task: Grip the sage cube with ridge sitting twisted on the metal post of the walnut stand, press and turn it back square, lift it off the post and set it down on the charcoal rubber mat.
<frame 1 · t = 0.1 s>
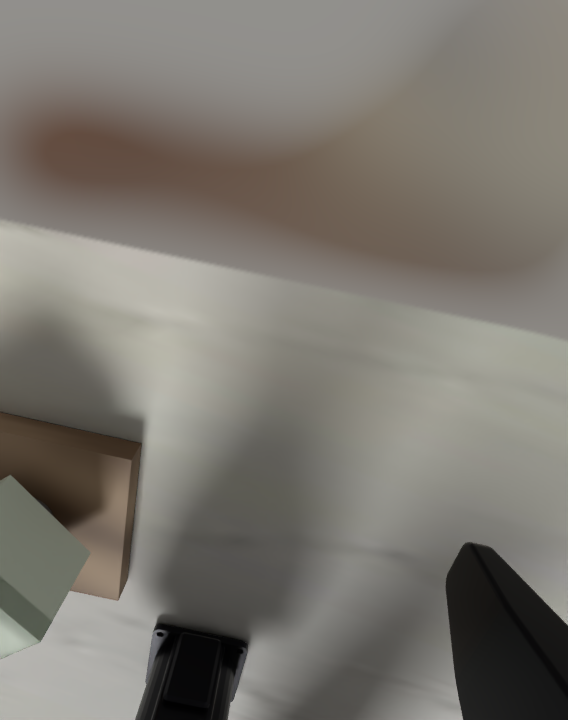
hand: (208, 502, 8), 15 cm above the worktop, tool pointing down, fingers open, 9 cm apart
post stand: (43, 497, 28), on the worktop
sage cube with ridge: (13, 536, 25), point 3 cm above the worktop, touching post stand
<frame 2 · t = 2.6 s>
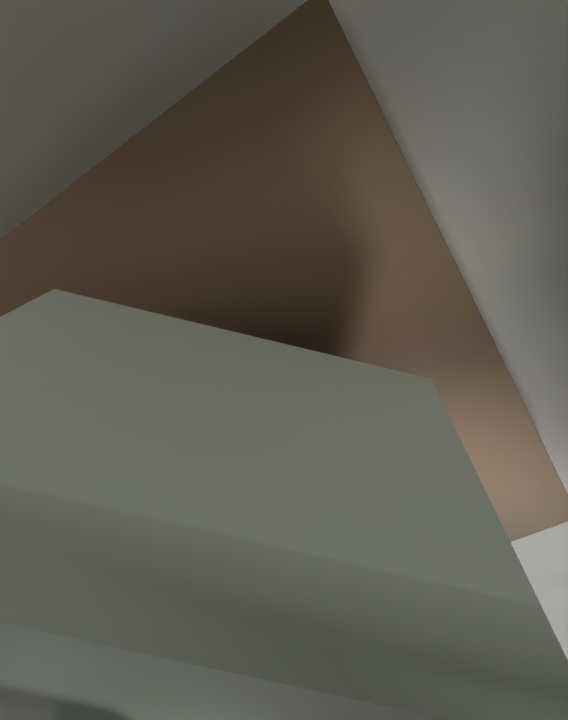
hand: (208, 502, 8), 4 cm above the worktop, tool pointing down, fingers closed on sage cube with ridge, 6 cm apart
post stand: (239, 401, 11), on the worktop
sage cube with ridge: (214, 483, 8), point 3 cm above the worktop, touching gripper, post stand
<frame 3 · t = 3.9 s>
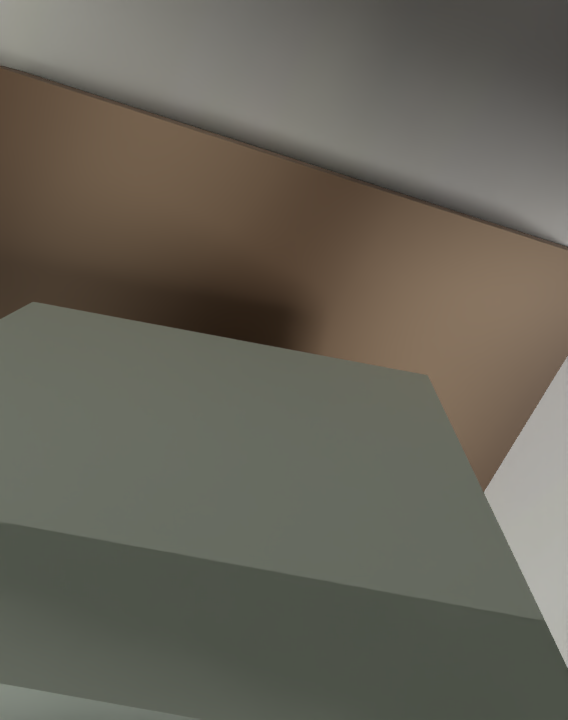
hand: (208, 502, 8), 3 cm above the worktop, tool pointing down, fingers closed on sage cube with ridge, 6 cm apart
post stand: (239, 403, 11), on the worktop
sage cube with ridge: (210, 493, 8), point 3 cm above the worktop, touching gripper
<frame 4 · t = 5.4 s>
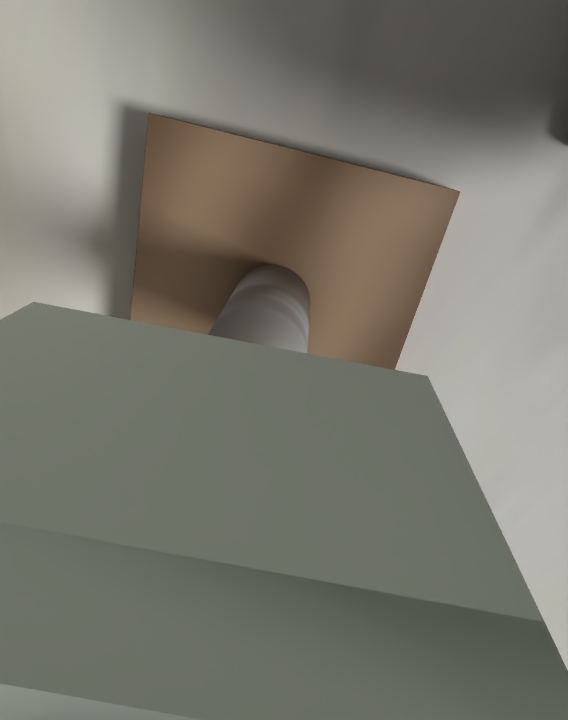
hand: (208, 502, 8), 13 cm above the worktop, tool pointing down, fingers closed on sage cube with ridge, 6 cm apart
post stand: (275, 291, 20), on the worktop
sage cube with ridge: (210, 493, 8), point 13 cm above the worktop, touching gripper
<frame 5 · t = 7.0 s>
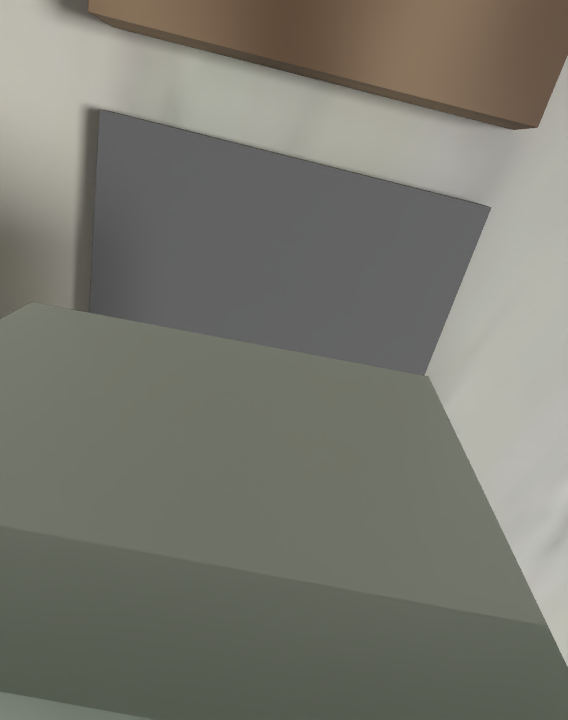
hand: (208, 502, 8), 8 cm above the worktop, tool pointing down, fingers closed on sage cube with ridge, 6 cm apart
mat: (260, 333, 16), on the worktop
sage cube with ridge: (209, 494, 8), point 8 cm above the worktop, touching gripper
when the fingers open (3 cm above the worktop, at t = 8.4 s): sage cube with ridge drops 2 cm, resting on mat.
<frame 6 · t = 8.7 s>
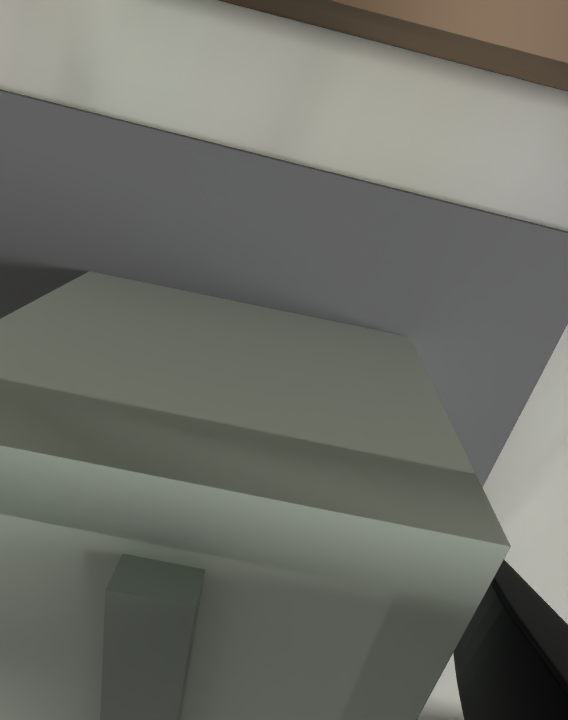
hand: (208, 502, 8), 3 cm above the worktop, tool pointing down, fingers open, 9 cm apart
mat: (232, 423, 10), on the worktop
sage cube with ridge: (228, 437, 10), point 1 cm above the worktop, touching mat
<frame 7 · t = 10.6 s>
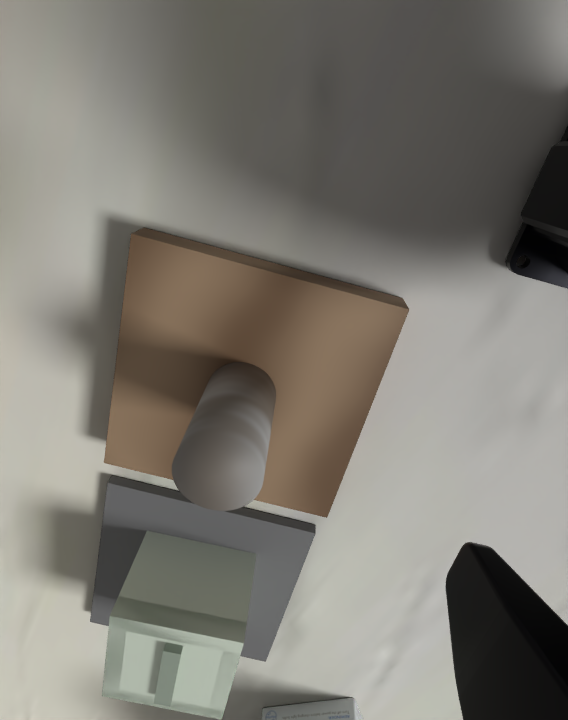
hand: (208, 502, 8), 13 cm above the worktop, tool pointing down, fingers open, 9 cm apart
mat: (196, 572, 27), on the worktop
post stand: (246, 378, 21), on the worktop
sage cube with ridge: (194, 580, 26), point 1 cm above the worktop, touching mat
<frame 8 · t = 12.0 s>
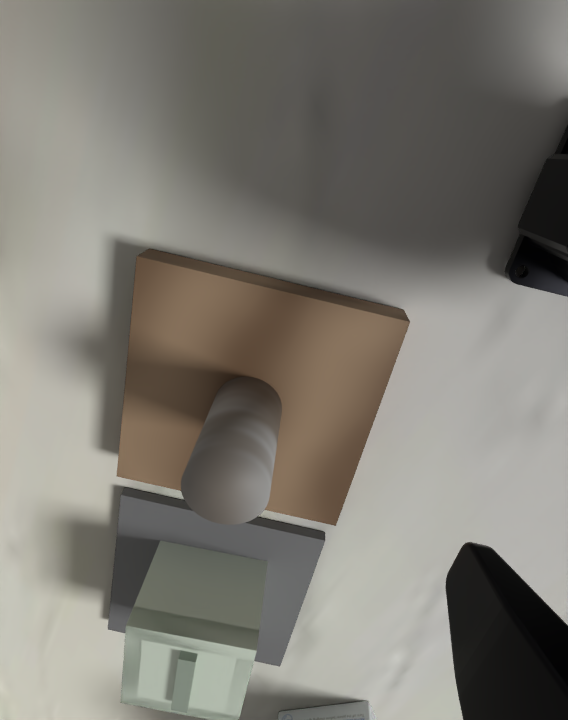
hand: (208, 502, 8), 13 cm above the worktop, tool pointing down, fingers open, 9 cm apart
mat: (209, 579, 27), on the worktop
post stand: (252, 390, 22), on the worktop
sage cube with ridge: (207, 588, 27), point 1 cm above the worktop, touching mat
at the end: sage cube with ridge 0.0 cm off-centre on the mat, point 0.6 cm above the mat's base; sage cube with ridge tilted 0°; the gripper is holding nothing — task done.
